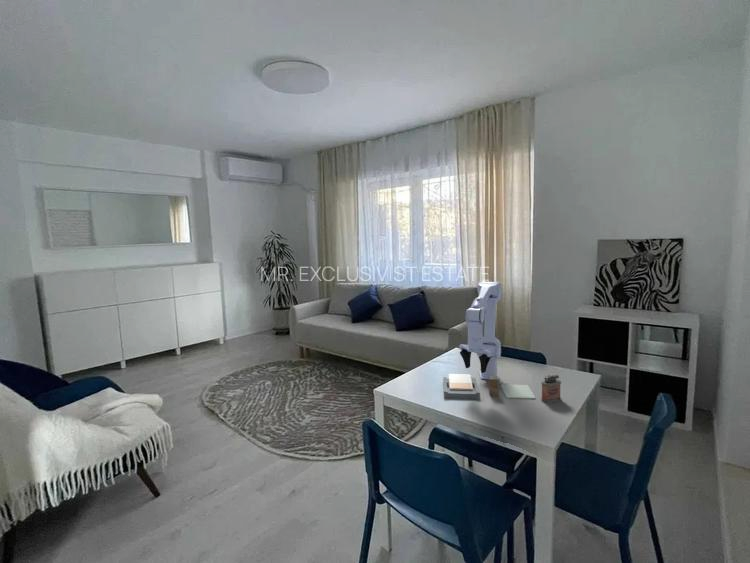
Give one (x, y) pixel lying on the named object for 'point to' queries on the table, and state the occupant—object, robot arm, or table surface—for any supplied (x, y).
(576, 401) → the table surface
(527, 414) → the table surface
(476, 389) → the switch panel
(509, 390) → the mat
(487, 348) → the robot arm
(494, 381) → the wooden brick
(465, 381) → the rocker switch
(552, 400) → the lighter
